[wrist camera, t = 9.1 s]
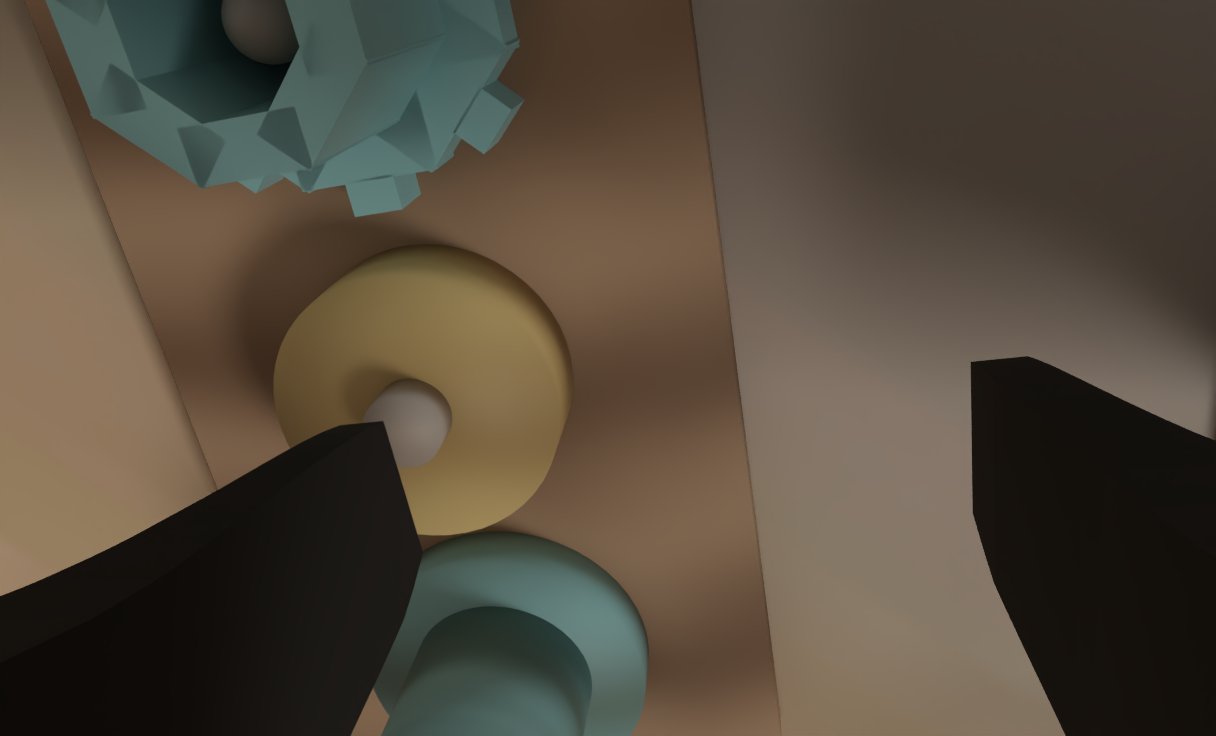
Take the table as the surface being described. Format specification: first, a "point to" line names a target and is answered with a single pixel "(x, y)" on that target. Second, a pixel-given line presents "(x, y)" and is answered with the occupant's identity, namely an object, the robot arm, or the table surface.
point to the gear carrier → (497, 378)
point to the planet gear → (299, 90)
